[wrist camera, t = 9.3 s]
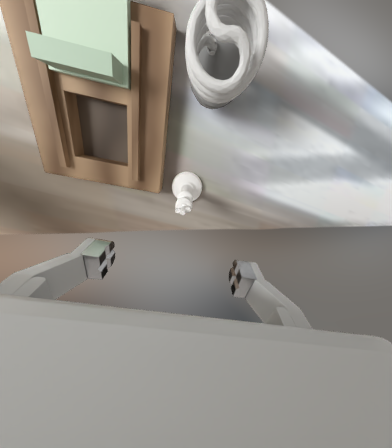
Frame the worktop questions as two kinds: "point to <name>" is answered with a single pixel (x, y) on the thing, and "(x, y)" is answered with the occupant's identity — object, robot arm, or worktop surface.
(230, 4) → the light bulb
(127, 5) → the cover
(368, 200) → the worktop surface
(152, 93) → the board
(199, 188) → the chess piece
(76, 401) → the robot arm
